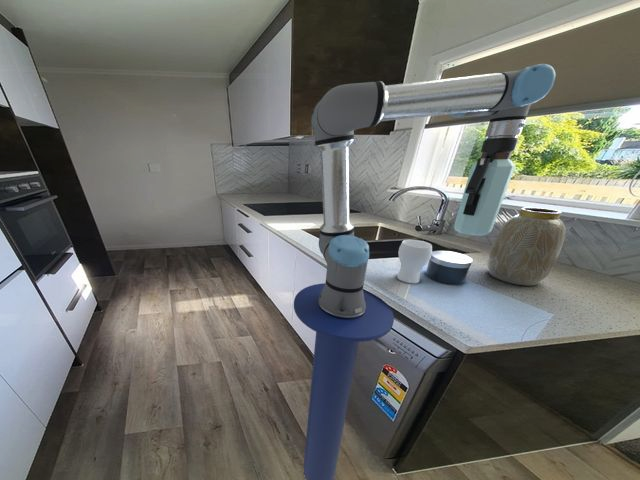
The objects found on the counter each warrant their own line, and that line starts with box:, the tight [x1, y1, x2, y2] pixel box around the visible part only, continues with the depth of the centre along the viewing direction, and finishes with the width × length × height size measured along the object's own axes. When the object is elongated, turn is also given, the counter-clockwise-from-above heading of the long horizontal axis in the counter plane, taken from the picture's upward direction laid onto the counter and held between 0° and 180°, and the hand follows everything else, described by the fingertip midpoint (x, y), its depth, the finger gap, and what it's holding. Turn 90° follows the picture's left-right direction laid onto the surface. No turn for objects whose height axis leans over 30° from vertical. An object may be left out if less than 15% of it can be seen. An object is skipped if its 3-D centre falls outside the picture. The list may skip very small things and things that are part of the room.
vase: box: [486, 207, 567, 287], centre depth 91 cm, size 17×17×27 cm
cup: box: [396, 239, 433, 284], centre depth 94 cm, size 11×11×15 cm
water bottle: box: [453, 152, 516, 237], centre depth 77 cm, size 10×10×25 cm
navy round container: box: [425, 250, 473, 286], centre depth 96 cm, size 13×13×9 cm
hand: (477, 212), depth 80 cm, fingers closed on water bottle, 10 cm apart
